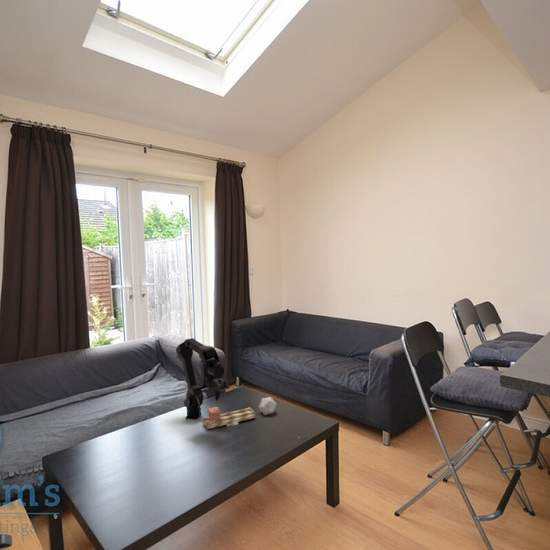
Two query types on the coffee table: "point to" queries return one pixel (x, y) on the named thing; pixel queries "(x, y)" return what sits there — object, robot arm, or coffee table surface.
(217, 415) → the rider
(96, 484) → the coffee table surface
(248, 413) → the beam
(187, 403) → the robot arm
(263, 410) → the die
